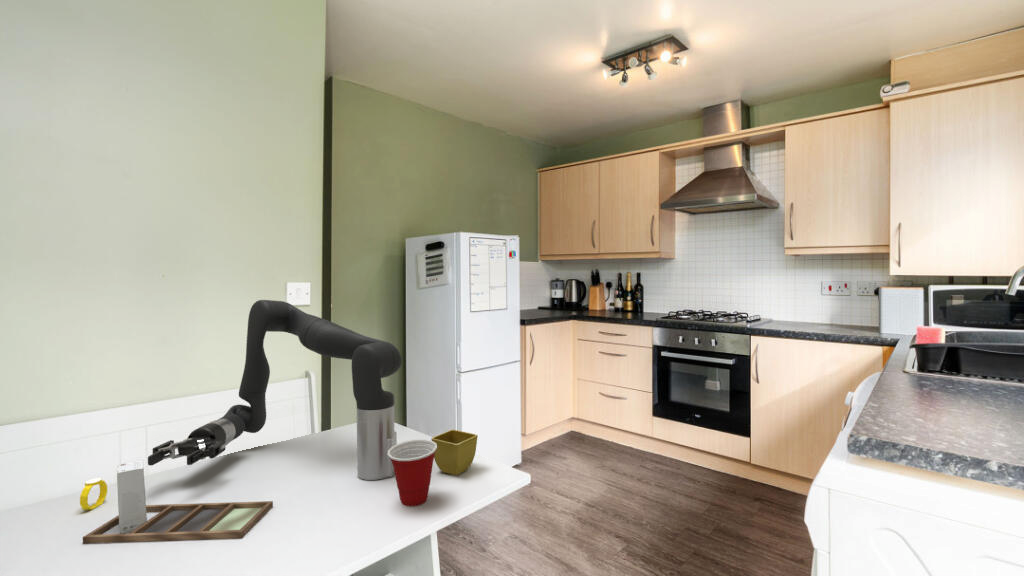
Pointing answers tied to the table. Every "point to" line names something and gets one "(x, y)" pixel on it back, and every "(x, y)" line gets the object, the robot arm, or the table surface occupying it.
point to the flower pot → (455, 451)
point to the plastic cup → (413, 469)
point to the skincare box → (131, 496)
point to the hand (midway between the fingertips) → (169, 461)
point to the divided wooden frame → (188, 522)
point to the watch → (86, 490)
